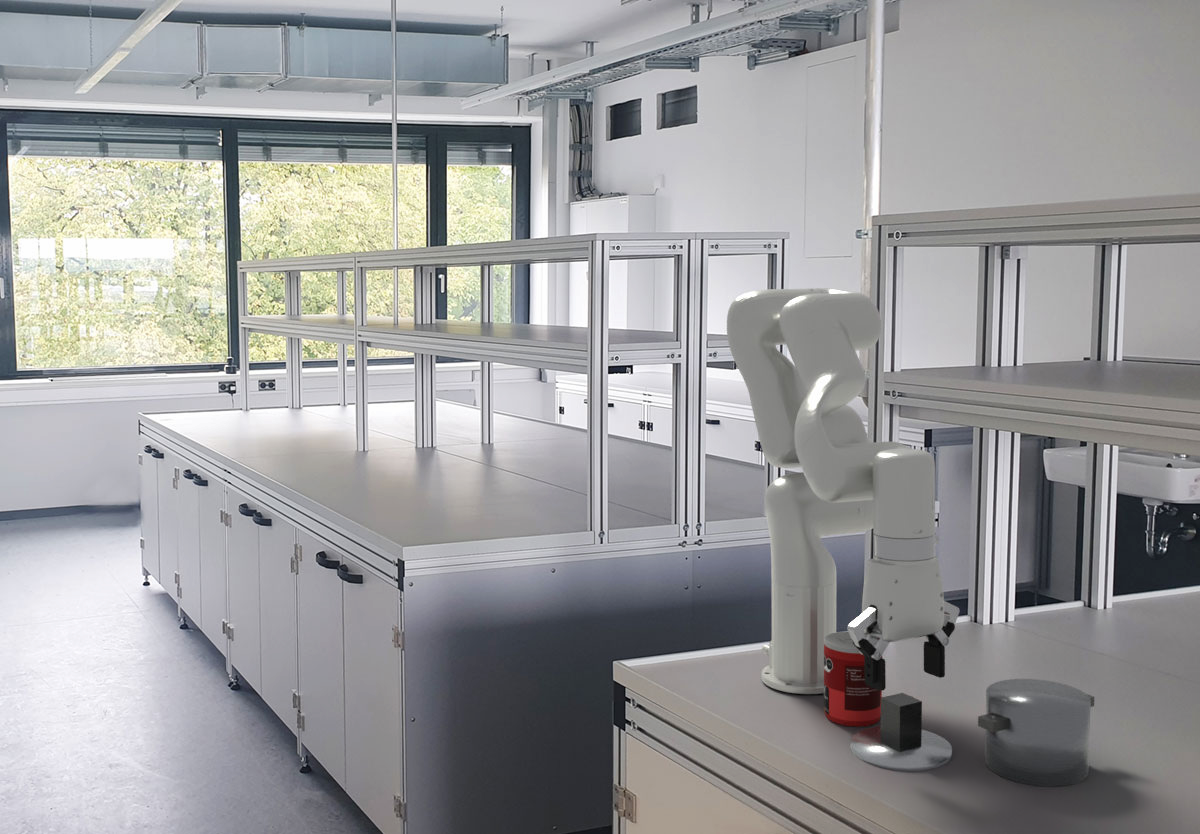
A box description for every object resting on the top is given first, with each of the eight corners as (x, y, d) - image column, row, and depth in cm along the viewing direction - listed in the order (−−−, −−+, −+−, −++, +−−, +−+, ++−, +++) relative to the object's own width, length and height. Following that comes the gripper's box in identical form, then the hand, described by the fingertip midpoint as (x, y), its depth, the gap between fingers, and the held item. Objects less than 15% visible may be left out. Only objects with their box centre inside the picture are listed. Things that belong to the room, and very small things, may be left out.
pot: (948, 762, 148) (949, 693, 147) (1047, 735, 156) (1049, 669, 155) (1022, 799, 137) (1024, 724, 136) (1125, 768, 145) (1127, 697, 144)
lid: (830, 744, 155) (830, 693, 154) (904, 726, 161) (905, 676, 160) (896, 780, 144) (896, 725, 143) (973, 759, 149) (974, 705, 149)
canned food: (839, 702, 169) (840, 627, 168) (891, 715, 164) (892, 638, 163) (813, 718, 163) (813, 641, 162) (866, 732, 158) (866, 652, 157)
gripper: (935, 535, 156) (935, 662, 157) (830, 551, 148) (831, 684, 150) (977, 544, 149) (977, 677, 151) (869, 561, 141) (871, 701, 143)
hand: (905, 681), depth 150 cm, fingers open, 9 cm apart
